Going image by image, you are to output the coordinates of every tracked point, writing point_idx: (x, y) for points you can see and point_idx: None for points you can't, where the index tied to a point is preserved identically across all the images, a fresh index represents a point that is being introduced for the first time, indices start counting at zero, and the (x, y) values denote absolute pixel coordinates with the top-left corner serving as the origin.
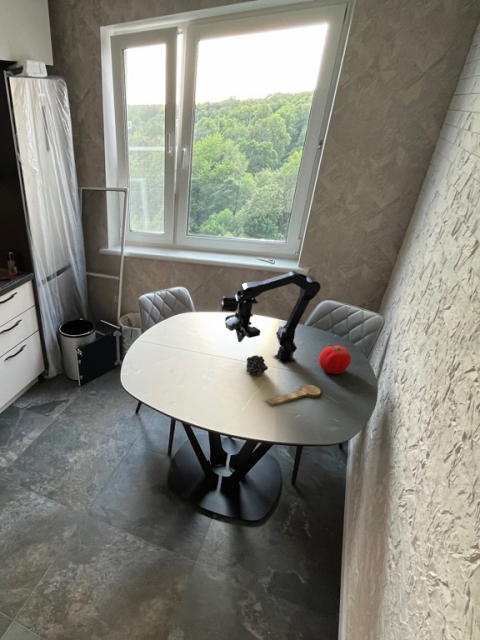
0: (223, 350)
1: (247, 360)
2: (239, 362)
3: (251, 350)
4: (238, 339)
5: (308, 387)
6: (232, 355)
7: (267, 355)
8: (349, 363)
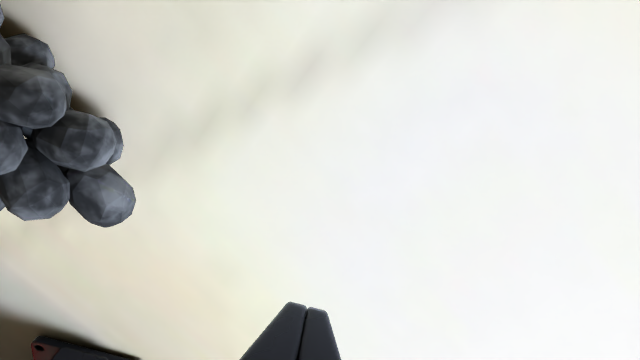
0: (571, 140)
1: (19, 68)
2: (218, 60)
3: None
4: (300, 352)
5: None
6: (396, 128)
7: (189, 347)
8: None
